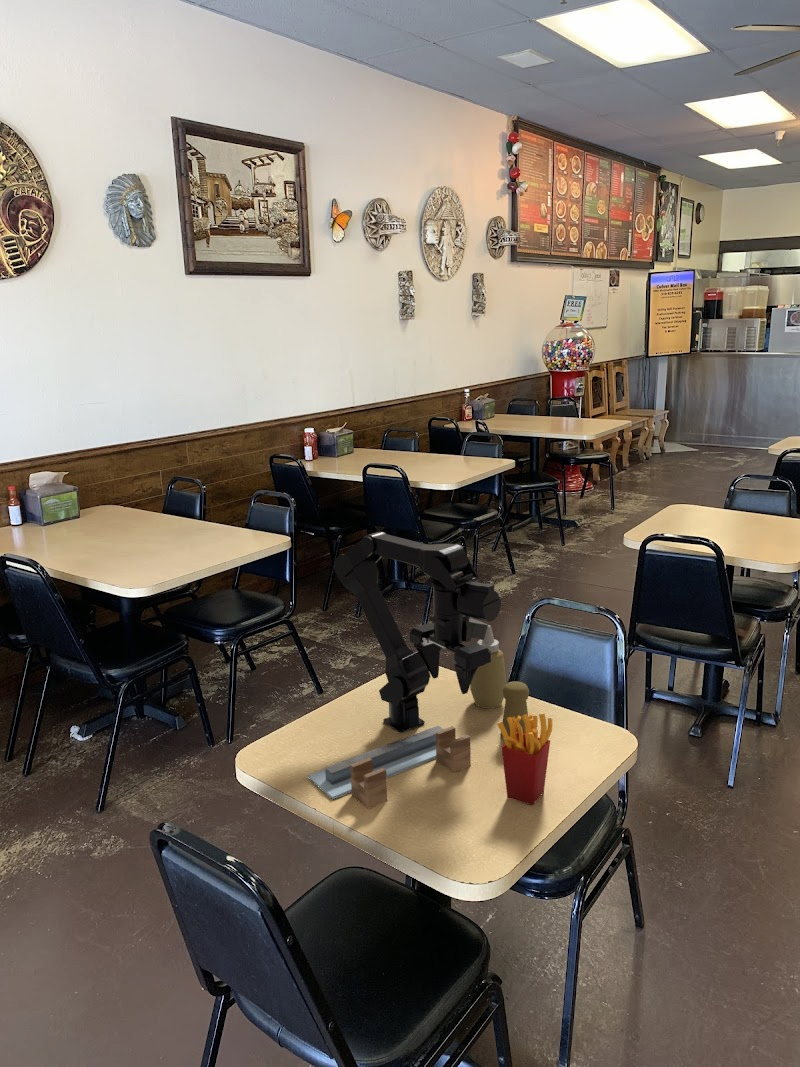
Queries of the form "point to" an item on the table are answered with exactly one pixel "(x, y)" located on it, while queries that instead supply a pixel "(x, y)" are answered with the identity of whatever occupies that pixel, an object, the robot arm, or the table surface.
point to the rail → (384, 754)
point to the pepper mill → (515, 703)
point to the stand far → (452, 749)
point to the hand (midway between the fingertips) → (449, 685)
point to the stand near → (368, 783)
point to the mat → (390, 768)
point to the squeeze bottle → (489, 676)
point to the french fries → (525, 757)
